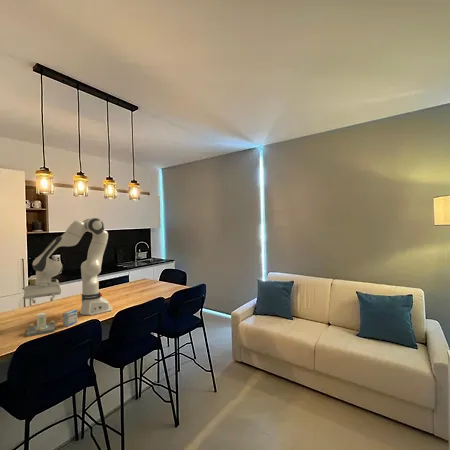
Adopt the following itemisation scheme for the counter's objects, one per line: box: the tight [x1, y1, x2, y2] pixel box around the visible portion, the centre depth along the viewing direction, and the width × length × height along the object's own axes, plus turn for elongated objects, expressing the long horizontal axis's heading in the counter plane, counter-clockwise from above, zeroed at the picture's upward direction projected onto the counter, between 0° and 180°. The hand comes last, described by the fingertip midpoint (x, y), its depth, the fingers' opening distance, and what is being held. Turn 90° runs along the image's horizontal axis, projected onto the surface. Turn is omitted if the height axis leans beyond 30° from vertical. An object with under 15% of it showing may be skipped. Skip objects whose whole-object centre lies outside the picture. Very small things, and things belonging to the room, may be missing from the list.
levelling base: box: [25, 319, 56, 338], centre depth 161 cm, size 14×14×3 cm
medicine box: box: [62, 309, 78, 328], centre depth 171 cm, size 8×4×9 cm, turn 170°
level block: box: [36, 312, 47, 329], centre depth 161 cm, size 4×5×8 cm
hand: (42, 301), depth 168 cm, fingers open, 8 cm apart
